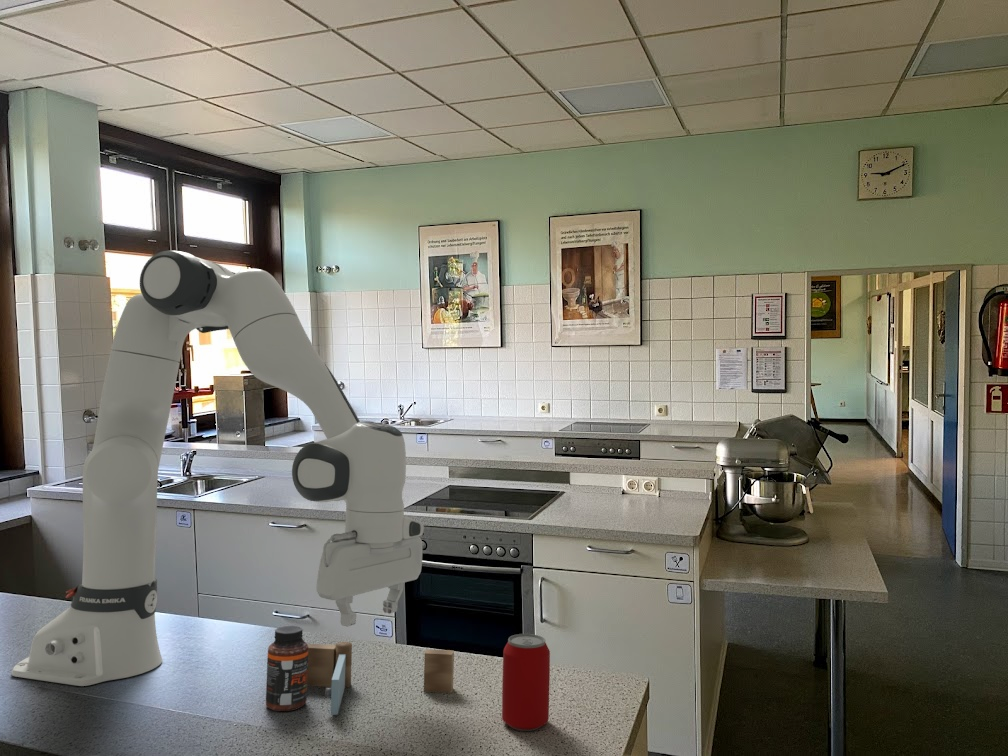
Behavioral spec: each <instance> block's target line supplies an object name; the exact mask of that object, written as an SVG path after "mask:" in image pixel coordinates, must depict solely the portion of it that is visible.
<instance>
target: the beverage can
mask: <svg viewBox="0 0 1008 756" xmlns="http://www.w3.org/2000/svg"><path fill="white" fill-rule="evenodd" d="M502 653H503V656H502V687H501V688H502V690H501V691H502V693H501V694H502V696H501V698H502V699H501V703H502V704H501V708H502V709H501V719H502V720H503V722H504V724H507V725H508V726H509V727H511V728H512V729H514V730H517V731H526V732H529V731H535V730H538V729H540V728H541V727H543V726H545V725H546V724H547V723H548V721H549V718H550V717H549V716H550V715H549V713H550V711H549V710H550V682H551V681H550V680H551V679H550V677H551V676H550V671H551V670H550V669H551V668H550V667H551V662H550V661H551V651H550V649H549V646H548V645H547V643H546V639H545V637H543V636H541V635H538V634H533V633H519V634H514V635H511V636H509V637H508V639H507V643H506V644H505V646H504V648H503V652H502Z"/></svg>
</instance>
